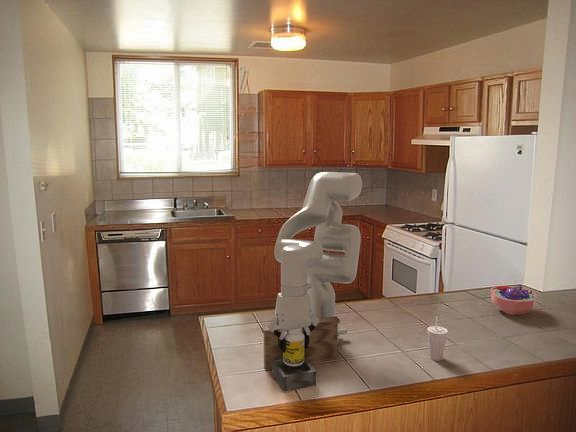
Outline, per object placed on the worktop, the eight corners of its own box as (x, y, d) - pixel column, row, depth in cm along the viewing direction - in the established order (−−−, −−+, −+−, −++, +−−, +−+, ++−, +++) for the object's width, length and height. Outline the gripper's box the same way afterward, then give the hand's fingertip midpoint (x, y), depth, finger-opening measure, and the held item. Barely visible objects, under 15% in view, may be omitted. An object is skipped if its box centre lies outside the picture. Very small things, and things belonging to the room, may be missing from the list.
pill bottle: (279, 364, 134) (279, 328, 132) (287, 355, 140) (287, 320, 138) (299, 368, 132) (300, 331, 130) (307, 359, 137) (307, 323, 135)
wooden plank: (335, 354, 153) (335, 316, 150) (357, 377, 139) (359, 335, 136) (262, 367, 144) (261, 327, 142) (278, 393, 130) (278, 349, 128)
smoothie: (422, 353, 153) (424, 313, 151) (441, 352, 154) (444, 312, 151) (430, 363, 147) (432, 321, 145) (449, 362, 148) (452, 320, 145)
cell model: (537, 308, 193) (540, 282, 191) (532, 324, 176) (535, 296, 174) (493, 300, 202) (495, 275, 200) (485, 315, 185) (487, 288, 183)
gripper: (316, 282, 138) (315, 339, 141) (260, 288, 132) (261, 347, 136) (327, 290, 131) (326, 349, 134) (269, 297, 126) (269, 359, 129)
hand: (293, 348), depth 135 cm, fingers closed on pill bottle, 6 cm apart
